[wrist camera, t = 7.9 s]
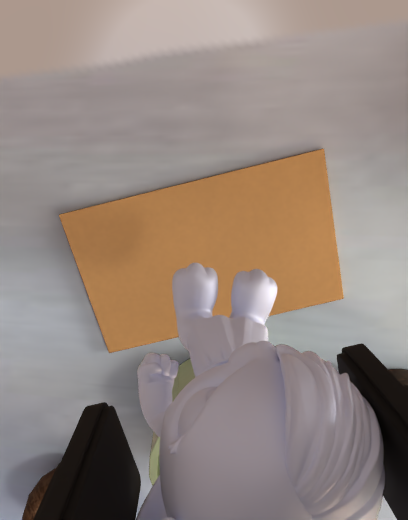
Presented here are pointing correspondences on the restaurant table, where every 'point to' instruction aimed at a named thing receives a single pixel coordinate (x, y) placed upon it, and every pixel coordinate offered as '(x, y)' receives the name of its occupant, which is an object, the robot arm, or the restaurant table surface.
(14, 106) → the restaurant table surface
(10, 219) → the restaurant table surface
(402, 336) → the restaurant table surface
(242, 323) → the toy figurine
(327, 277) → the mat
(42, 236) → the restaurant table surface
